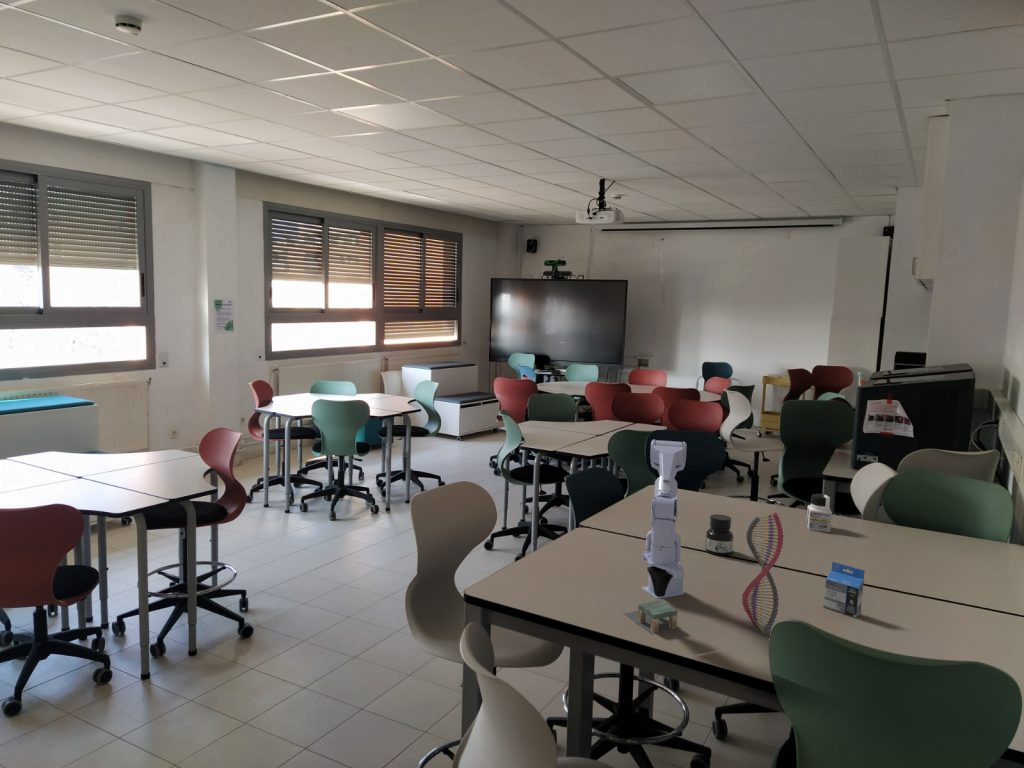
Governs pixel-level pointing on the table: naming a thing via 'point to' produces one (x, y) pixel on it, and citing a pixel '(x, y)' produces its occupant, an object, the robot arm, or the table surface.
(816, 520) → the container
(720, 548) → the ink bottle
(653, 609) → the stool
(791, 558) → the table surface
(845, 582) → the ink cartridge box
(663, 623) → the mat
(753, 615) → the dna model
